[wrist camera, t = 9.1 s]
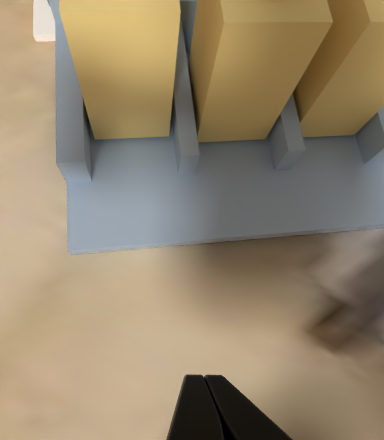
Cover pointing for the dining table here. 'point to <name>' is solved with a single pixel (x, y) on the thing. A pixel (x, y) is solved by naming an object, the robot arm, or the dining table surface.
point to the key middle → (250, 62)
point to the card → (43, 21)
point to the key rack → (208, 173)
